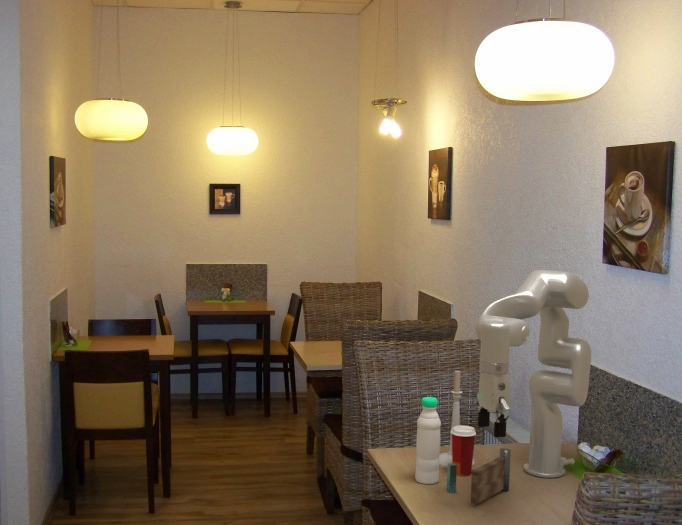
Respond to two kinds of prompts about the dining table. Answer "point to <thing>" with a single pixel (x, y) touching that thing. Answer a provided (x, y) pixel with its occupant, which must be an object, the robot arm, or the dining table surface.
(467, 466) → the paper cup
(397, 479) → the dining table surface
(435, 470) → the water bottle
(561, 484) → the dining table surface
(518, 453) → the dining table surface
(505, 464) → the gate posts
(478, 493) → the gate
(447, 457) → the candlestick
